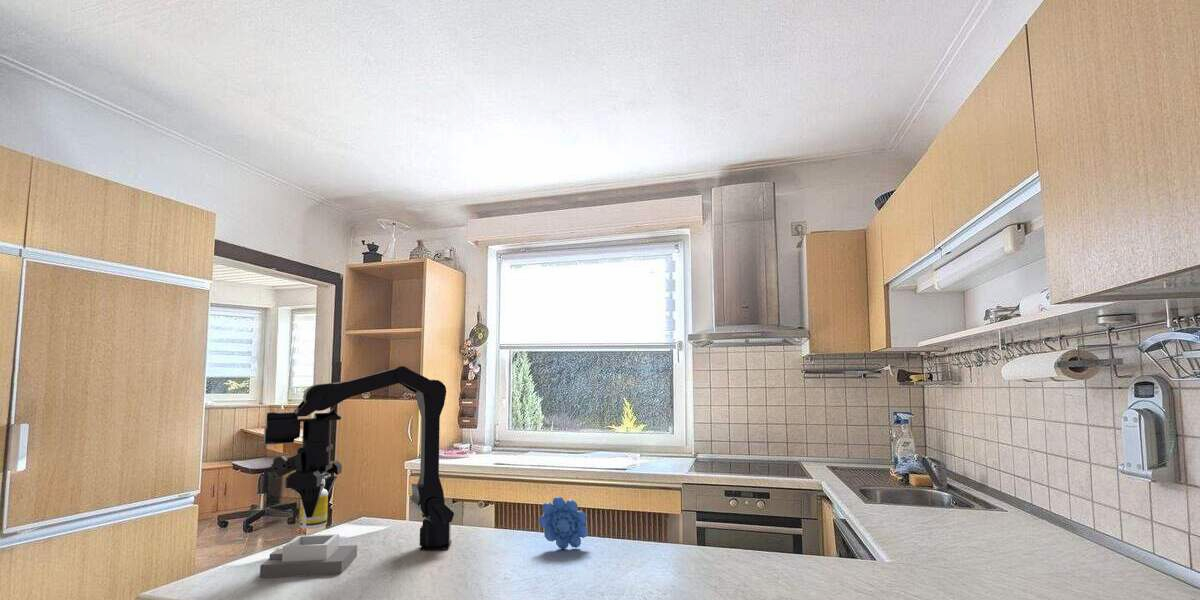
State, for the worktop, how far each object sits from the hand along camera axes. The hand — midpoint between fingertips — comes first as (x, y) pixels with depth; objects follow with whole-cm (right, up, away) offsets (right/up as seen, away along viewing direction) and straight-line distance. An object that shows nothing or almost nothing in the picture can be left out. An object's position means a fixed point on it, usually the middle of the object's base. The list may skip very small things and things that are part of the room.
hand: (313, 514), depth 132 cm
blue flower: (+54, -12, +9) cm, 56 cm away
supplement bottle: (0, -3, 0) cm, 3 cm away
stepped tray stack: (0, -11, -1) cm, 11 cm away
